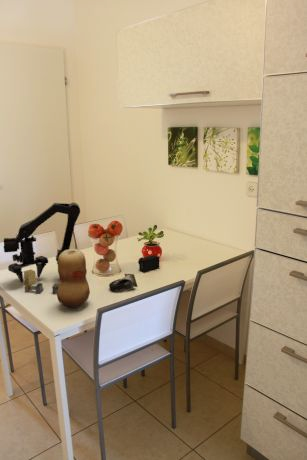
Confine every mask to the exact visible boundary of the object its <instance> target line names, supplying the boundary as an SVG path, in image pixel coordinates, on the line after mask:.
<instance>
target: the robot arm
mask: <svg viewBox="0 0 307 460" xmlns="http://www.w3.org/2000/svg"><path fill="white" fill-rule="evenodd" d="M57 213H60V214H65V215H67V216H66V217H67V220H66V221H67V222H66V225H65V231H64V233H63V240H62V244H61V247H60V249H58V248H57V252H56V256H55V261H56V264H57V265H58V258H59V255H60V254H61V253H62V252H63V251H65V250H68V249H71V248H70V247H71V243H72V238H73V235H74V229H75V226H76V222H77V220H78V218H79V216H80V214H81V209H80V205H79V204H78V203H77V202H71V203H61V202H60V203H59V202H54V203H53V204H52V205H50V206H49V207H48V208H47V209H45V210H44V211H42V212H41V213H39V215H37V216H35V217H34V218H33V219H32V220H29V221H27V222H25V223H23V224H21V225H20V226H19V229H18V234H16V236H15V237H9V238H8V237H4V238H3V252H4V253H13V252H14V253H15V252H18V251H19V250H20V252H19V254H17V253H16V254H12V255H11V256H12V260H13V262H15V263H12V264H9V265H8V267H7V270H8V271H9V272H10V273H11V272H12V273H13V274H16V276H17V278H18V280H19V282H20V283H21V284H24V271H22V268H26V267H30V266H33V265H36V275H37V276H36V277H37V278H38V279H39V278H41V274H42V272H43V270H44V268H45V267H46V266H47V264H49V259H48V257H45V256H43V255H38V256H36V257H35V255H36V252H35V251H34V245H33V244H34V243H33V242H37V237H34V235H33V234H34V232H35V231H36V230H37V229H38V227H39V226H41V225H42V224H44V223H45V222H46V221H47V220H49V219H50V218H51V217H53V216H54V215H56V214H57ZM16 262H17V263H16ZM18 263H20V264H18Z"/></svg>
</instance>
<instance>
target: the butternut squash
mask: <svg viewBox="0 0 307 460" xmlns="http://www.w3.org/2000/svg"><path fill="white" fill-rule="evenodd" d="M87 270H88V269H87V262H86V256H85V254H84V252H83V251H82V250H80V249H77V248H69V249H68V250H65V251H63V252H62V253H61V254H60V255H59V258H58V264H57V273H58V277H59V286H58V290H57V294H56V297H57V300H58V302H59V303H61V304H62V306H66V307H72V308H77V307H79V306H81V305H83V304H84V303H86V302H87V301H88V300H89V297H90V294H91V292H90V291H91V290H90V286H89V282H88V279H87V277H86V276H87V272H88V271H87Z"/></svg>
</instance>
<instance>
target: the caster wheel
mask: <svg viewBox="0 0 307 460" xmlns="http://www.w3.org/2000/svg"><path fill="white" fill-rule="evenodd" d="M108 286H109V290H110V291H111V292H118V291H120V292H124V293H126V292H128V291H130V290H131V289H132V288H135V287H136V288H138V287H139V286H138V283H137V280H136V277H135V274H134V273H124V277H122V278H119V279H115V280H114V281H111V282H110V283H109V284H108Z"/></svg>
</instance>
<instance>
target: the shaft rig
mask: <svg viewBox="0 0 307 460" xmlns="http://www.w3.org/2000/svg"><path fill="white" fill-rule="evenodd" d="M59 283H60V282H59ZM59 283H58V282H54V283H53V285H52V287H51V288H52V294H53V295H57V290H58V286H59ZM23 288H24V293H27V294H29V293H30V292H32V291H35V294H36V295H41V293H42V292H43V291H44V288H43V282H38V283H36V284H35V285H30V284H28V285H26V284H25V285H24V287H23Z"/></svg>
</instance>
